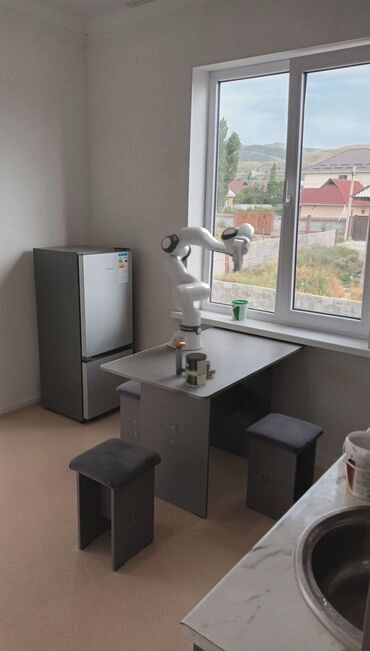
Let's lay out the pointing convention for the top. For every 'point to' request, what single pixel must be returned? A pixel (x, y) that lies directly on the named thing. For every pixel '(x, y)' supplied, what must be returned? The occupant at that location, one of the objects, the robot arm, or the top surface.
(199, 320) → the robot arm
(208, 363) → the eye post
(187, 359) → the coffee can
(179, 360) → the hook rod
